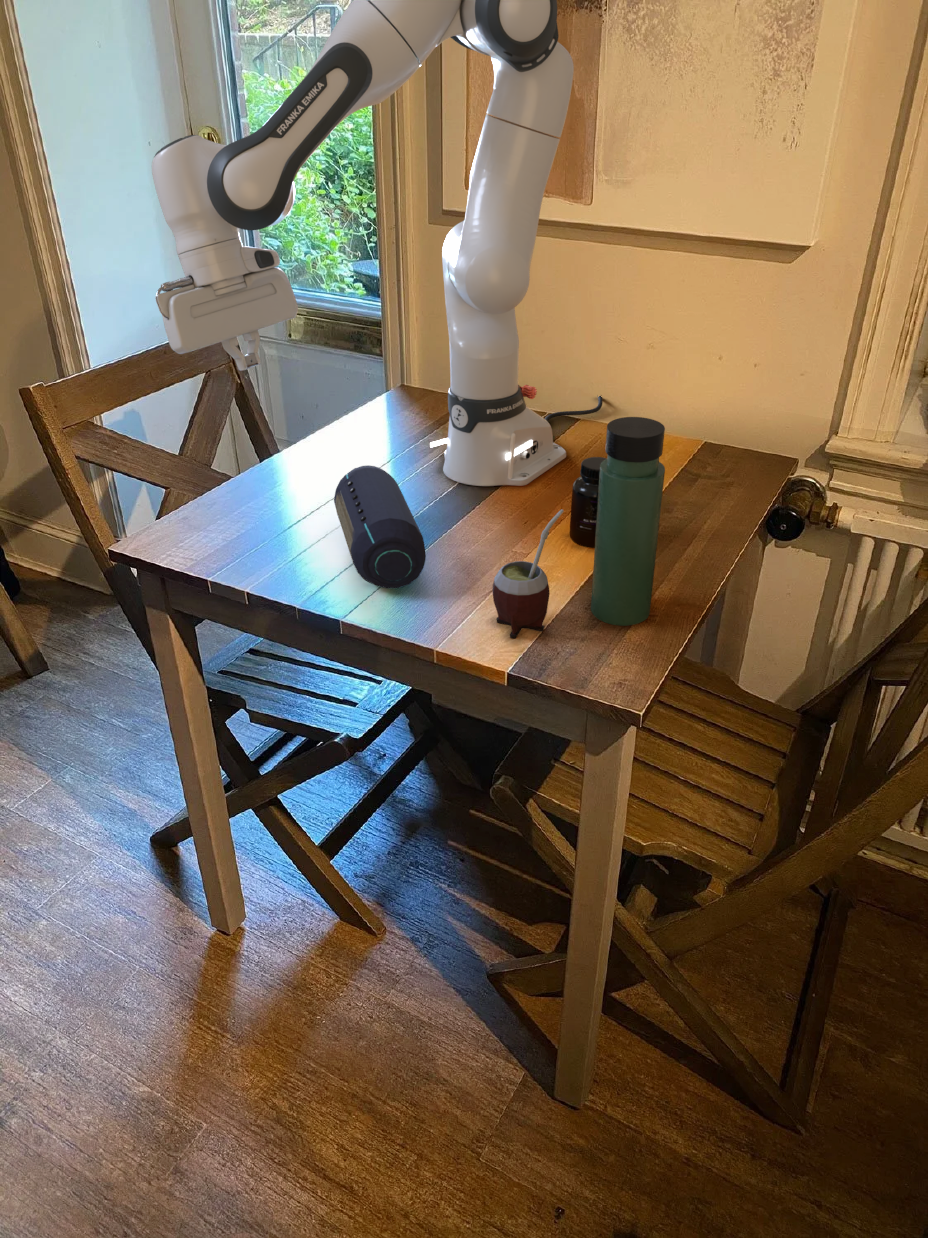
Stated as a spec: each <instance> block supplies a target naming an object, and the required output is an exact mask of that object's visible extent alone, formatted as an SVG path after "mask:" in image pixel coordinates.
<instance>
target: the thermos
mask: <svg viewBox="0 0 928 1238" xmlns="http://www.w3.org/2000/svg"><path fill="white" fill-rule="evenodd" d="M665 431H666V428H665V425H664V424H663V423H662V422H660V421H659V420H656V419H652V418H648V417H642V416H625V417H619V418H615V419H613V420H611V421H609V422H607V425H606V436H605V449H604V450H605V453H606V455H607V457H606V458H607V459H606V460H604V461H603V462H602V463H601V465H600V475H599V490H598V505H597V521H596V536H595V548H594V550H593V551H594V552H593V555H594V556H593V566H592V567H593V568H592V571H593V572H592V584H591V600H590V612H591V613H592V615H593V616H594V617H595V618H596V619H597V620H599V621H601V622H603V623H606V624H609V625H612V626H621V627H622V626H623V627H625V626H627V627H629V626H634V625H638V624H640V623H643V622H645V621H646V620H647V619H648V618H649V616H650V614H651V605H652V596H653V587H654V578H655V569H656V560H657V559H656V558H657V549H658V540H659V530H660V520H661V512H662V511H661V510H662V502H663V501H662V500H663V493H664V484H665V483H664V482H665V473H666V468H665V465H664V464H663V463H662V462H661V461H660V457H662V455H663V450H664V443H665V441H664V440H665Z"/></svg>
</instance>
